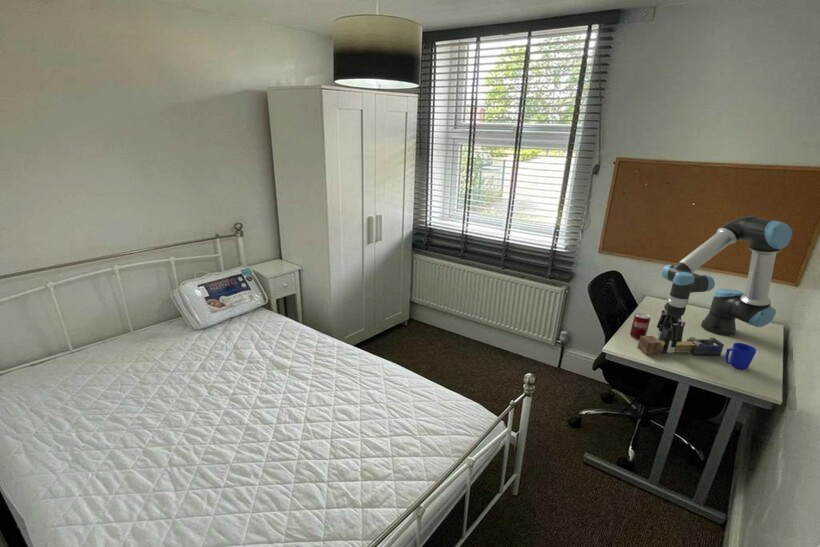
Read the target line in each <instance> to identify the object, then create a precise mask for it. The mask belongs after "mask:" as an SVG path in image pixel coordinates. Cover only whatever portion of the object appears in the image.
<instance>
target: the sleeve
mask: <svg viewBox="0 0 820 547" xmlns="http://www.w3.org/2000/svg"><path fill="white" fill-rule="evenodd" d="M686 341H693V342H694V343H695V344H697V345H695V347H694V350H693V352H688V353H689V354H690V355H692V356H694V357H695V356H696V357H721V354H722V352H723V349H724V346H725V344H724V343H722V341H720V340H718V339H717V338H715V337H709V338H708V339H705V338H703V339H701V338H695V337H693V336H692V337H689V338H687V339H686Z"/></svg>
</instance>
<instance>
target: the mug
mask: <svg viewBox="0 0 820 547" xmlns="http://www.w3.org/2000/svg"><path fill="white" fill-rule="evenodd" d="M725 351H726V352H725V356H724V361H725V363H726V364H728V365H730V366H732V367H734V368H735V369H739V370H747V369H748V368H750V365H751V364H752V361H753V359H754V357H755V354H756V353H757V349H756V348H755V347H754V346H752V345H749V344H746V343H742V342H735V343H733V346H732V347H730V348H726V350H725ZM729 355H730V356H729ZM729 357H730V359H729Z"/></svg>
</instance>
